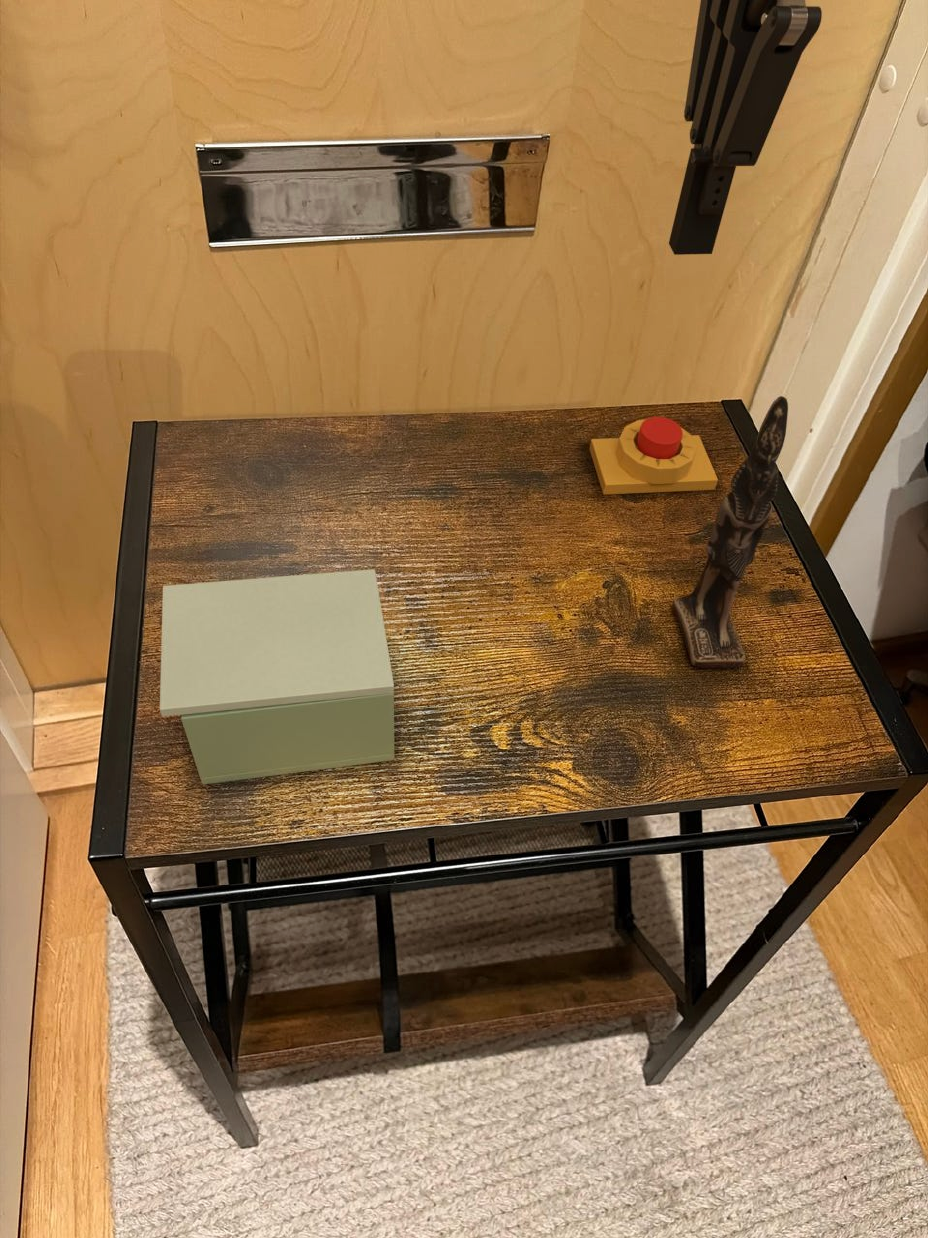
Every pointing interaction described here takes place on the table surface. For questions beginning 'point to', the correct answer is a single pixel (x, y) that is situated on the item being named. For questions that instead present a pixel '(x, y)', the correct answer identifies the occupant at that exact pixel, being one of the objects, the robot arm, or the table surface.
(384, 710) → the hatch box
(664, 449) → the button
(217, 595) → the hatch lid
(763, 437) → the statue
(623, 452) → the button block
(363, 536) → the table surface
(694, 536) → the table surface
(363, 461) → the table surface
